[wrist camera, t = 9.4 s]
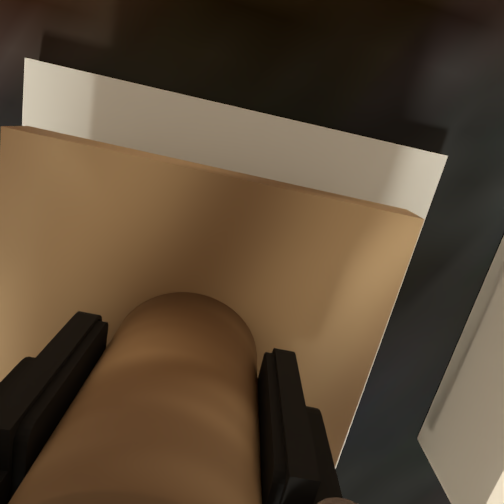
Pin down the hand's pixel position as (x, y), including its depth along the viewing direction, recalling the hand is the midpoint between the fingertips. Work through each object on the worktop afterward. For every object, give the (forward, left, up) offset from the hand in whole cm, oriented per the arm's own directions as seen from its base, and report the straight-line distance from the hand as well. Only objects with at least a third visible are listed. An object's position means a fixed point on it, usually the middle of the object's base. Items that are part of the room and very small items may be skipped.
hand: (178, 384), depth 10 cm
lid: (0, 0, -2) cm, 2 cm away
